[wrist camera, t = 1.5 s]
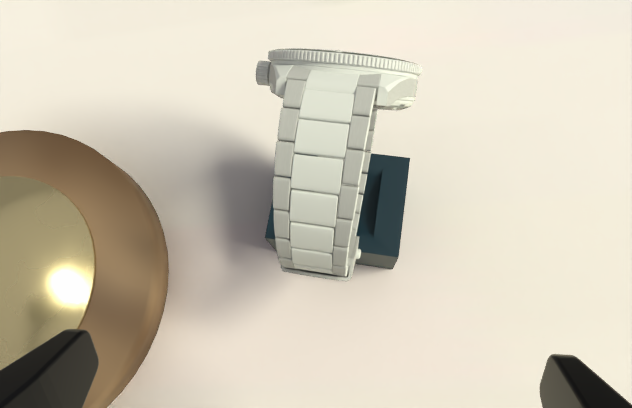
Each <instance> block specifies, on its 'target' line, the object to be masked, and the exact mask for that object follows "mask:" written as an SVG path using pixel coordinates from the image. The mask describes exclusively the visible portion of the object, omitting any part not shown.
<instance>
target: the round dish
mask: <svg viewBox="0 0 632 408" xmlns="http://www.w3.org/2000/svg"><path fill="white" fill-rule="evenodd" d="M168 273H169V270H168V253H167V247H166V242H165V237H164V232H163V229H162V226H161V224H160V221H159V218H158V215H157V213H156V211H155V209H154V207H153V206H152V204H151V202H150V200H149V198H148V197H147V196H146V194H145V193H144V192H143V190H142V189H141V187H140V186H139V185H138V184H137V183H136V182H135V181H134V180H133V179H132V178H131V177H130V176H129V175H128V174H127V173H126V172H124V171H123V170H122V169H120V168H119V167H118V166H116V165H115V164H114V163H112V162H111V161H109V160H108V159H107V158H105V157H104V156H103V155H101V154H100V153H98V152H97V151H96V150H94V149H93V148H91V147H89V146H87V145H85V144H83V143H81V142H79V141H77V140H74V139H72V138H69V137H66V136H63V135H59V134H54V133H50V132H45V131H30V130H21V131H6V132H1V133H0V370H1V369H3V368H5V367H6V366H8V365H9V364H11V363H13V362H14V361H16V360H17V359H19V358H21V357H22V356H24V355H25V354H27V353H29V352H30V351H32V350H33V349H35V348H37V347H38V346H40V345H41V344H43V343H45V342H46V341H48V340H49V339H51V338H52V337H54V336H56V335H57V334H59V333H60V332H62V331H64V330H66V329H84V330H87V331H88V332H89V333H90V335H91V338H92V341H93V343H94V346H95V349H96V352H97V355H98V358H99V366H98V370H97V373H96V375H95V378H94V380H93V383H92V385H91V388H90V390H89V393H88V395H87V398H86V400H85V403H84V405H83V408H107V407H108V406H109V404H110V403H111V402H112V401H113V400H114V399H115V398H116V397H117V396H118V395H119V394H120V393H121V392H122V391H123V389H124V388H125V387H126V385H127V384H128V383H129V382H130V380H131V379H132V378H133V376H134V375H135V374H136V372H137V370H138V369H139V367H140V365H141V364H142V362H143V360H144V359H145V357H146V355H147V353H148V351H149V349H150V347H151V345H152V342H153V340H154V338H155V336H156V334H157V330H158V327H159V324H160V321H161V318H162V315H163V311H164V306H165V301H166V296H167V288H168Z"/></svg>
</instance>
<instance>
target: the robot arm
mask: <svg viewBox="0 0 632 408" xmlns="http://www.w3.org/2000/svg"><path fill="white" fill-rule="evenodd" d="M98 366H99V358H98V355H97V352H96V349H95V346H94V343H93V341H92V338H91V335H90V333H89V332H88V331H87V330H84V329H66V330H64V331H62V332H60V333H59V334H57V335H56V336H54V337H52V338H51V339H49V340H48V341H46V342H45V343H43V344H41V345H40V346H38V347H37V348H35V349H33V350H32V351H30V352H29V353H27V354H25V355H24V356H22V357H21V358H19V359H17V360H16V361H14V362H13V363H11V364H9V365H8V366H6V367H5V368H3V369H1V370H0V408H83V405H84V403H85V400H86V398H87V395H88V393H89V390H90V388H91V385H92V383H93V380H94V378H95V375H96V373H97V370H98ZM540 397H541V402H542V406H543V408H632V405H631V404H630V403H629V402H628V401H627V400H626V399H624V398H623V397H622V396H621V395H620V394H619V393H618V392H616V391H615V390H614V389H613V388H612V387H611V386H609V385H608V384H607V383H606V382H605V381H604V380H603V379H601V378H600V377H599V376H598V375H597V374H596V373H594V372H593V371H592V370H591V369H590V368H589V367H588V366H586V365H585V364H584V363H583V362H582V361H581V360H579V359H578V358H577V357H575V356H573V355H560V354H553V355H550V356H549V358H548V360H547V363H546V366H545V370H544V373H543V376H542V380H541V383H540Z"/></svg>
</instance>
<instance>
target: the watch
mask: <svg viewBox="0 0 632 408" xmlns="http://www.w3.org/2000/svg"><path fill="white" fill-rule="evenodd" d="M268 59H269V60H270V61H271V62H268V61H259V62H258V64H257V68H256V81H257V84H258V85H267V86H270V90H271V92H272V93H274V94H275V95H277V96H279V97H280V98H283V99H284V100H283V108H282V109H281V114H280V121H279V129H278V140H279V141H277V142H276V152H275V166H274V175H277V176H274V177H273V200H272V205H271V210H270V215H269V220H268V225H267V230H266V235H265V239H266V240H267V241H268V242H269V243H270V244H271V245H272V246H273V248H274V249H275V250H276V251H277V254H278V259H279V261H280V263H281V269H282V270H283V271H285V272H290V273H295V274H300V275H306V276H312V277H318V278H325V279H333V280H341V281H348V280H350V279H351V277H352V274H353V270H354V266H355V264H362V265H368V266H375V267H382V268H388V269H393V267H394V265H395V263H396V261H397V259H398V256H399V247H400V239H401V230H402V222H403V213H404V205H405V196H406V188H407V179H408V170H409V162H410V158H405V157H396V156H388V155H379V154H371V152H367V151H371V148H372V142H373V136H374V128H375V122H376V117H377V110H378V109H383V110H402V109H405V108H408V107H411V105H412V104H413V101H415V97H416V90H417V83H418V79H417V77H418V76H419V75H421V73H422V66H420V65H418V64H415V63H412V62H408V61H404V60H400V59H395V58H390V57H384V56H378V55H371V54H363V53H355V52H345V51H339V50H335V51H334V50H321V49H277V50H272V51H269V55H268ZM283 141H284V142H283ZM291 142H293V143H291Z"/></svg>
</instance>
